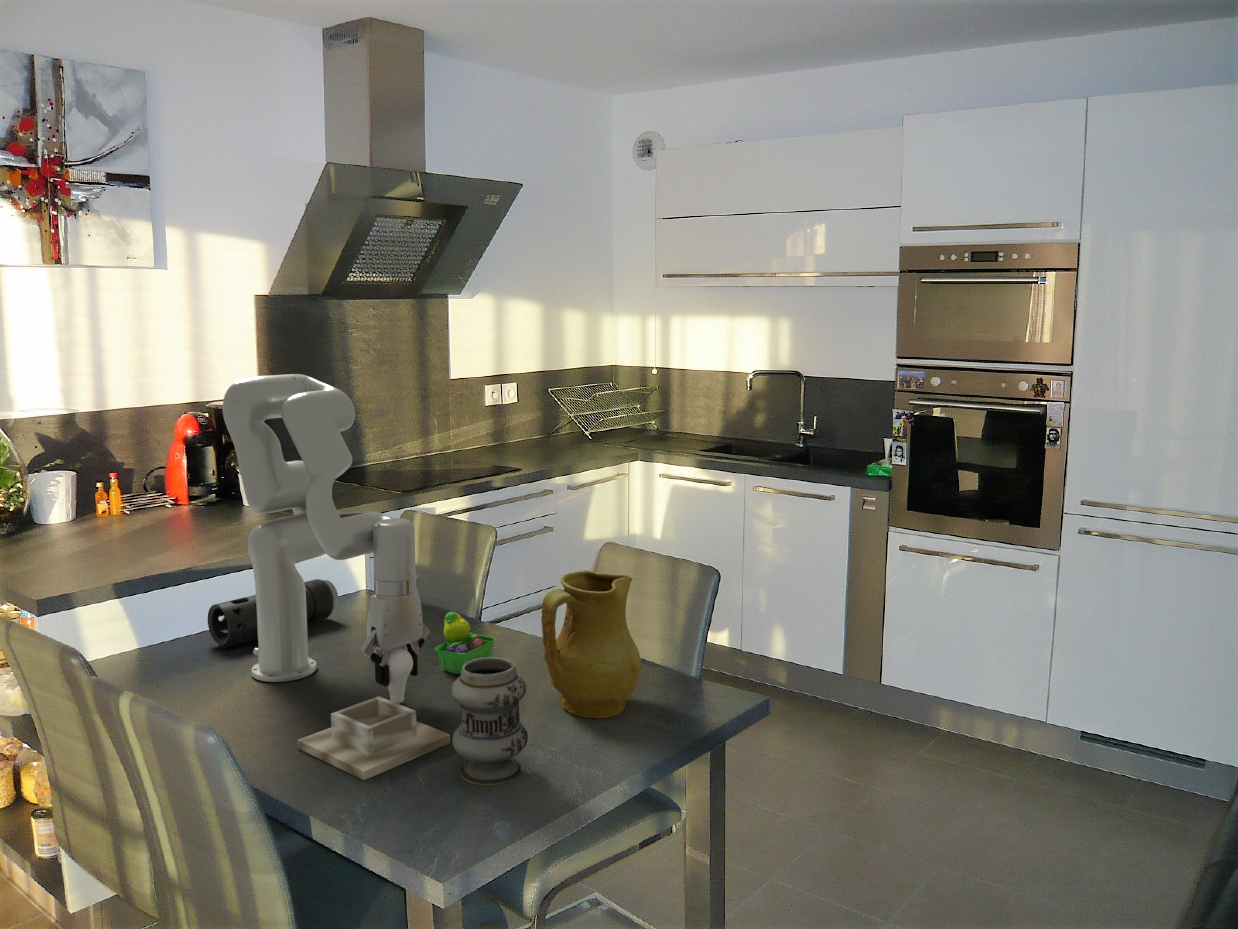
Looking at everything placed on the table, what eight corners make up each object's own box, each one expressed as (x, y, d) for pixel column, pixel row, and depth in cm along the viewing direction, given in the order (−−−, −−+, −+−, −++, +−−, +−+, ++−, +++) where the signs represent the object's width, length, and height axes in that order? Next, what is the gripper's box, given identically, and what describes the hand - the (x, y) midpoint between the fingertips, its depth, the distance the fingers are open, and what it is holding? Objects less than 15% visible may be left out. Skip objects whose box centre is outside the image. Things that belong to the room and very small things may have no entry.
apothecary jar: (463, 753, 170) (462, 650, 167) (534, 757, 169) (534, 653, 166) (443, 787, 158) (442, 677, 155) (519, 791, 157) (519, 680, 154)
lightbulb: (416, 697, 193) (415, 642, 191) (410, 710, 187) (409, 654, 185) (384, 697, 193) (382, 642, 191) (377, 710, 187) (376, 654, 185)
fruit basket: (463, 678, 204) (462, 624, 202) (429, 670, 208) (428, 617, 206) (497, 661, 213) (496, 610, 212) (463, 654, 218) (463, 603, 216)
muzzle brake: (207, 645, 222) (205, 599, 220) (317, 615, 243) (316, 573, 242) (231, 654, 216) (228, 608, 214) (341, 623, 237) (340, 581, 236)
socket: (297, 748, 171) (296, 714, 170) (383, 715, 185) (382, 684, 184) (364, 780, 160) (363, 744, 159) (450, 743, 174) (449, 709, 173)
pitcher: (644, 723, 183) (647, 589, 179) (541, 725, 181) (541, 590, 177) (636, 688, 200) (638, 564, 196) (541, 689, 198) (541, 565, 194)
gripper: (418, 573, 195) (419, 662, 198) (343, 592, 182) (346, 687, 185) (444, 580, 191) (445, 671, 194) (369, 600, 177) (372, 698, 180)
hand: (396, 678), depth 189 cm, fingers closed on lightbulb, 6 cm apart
